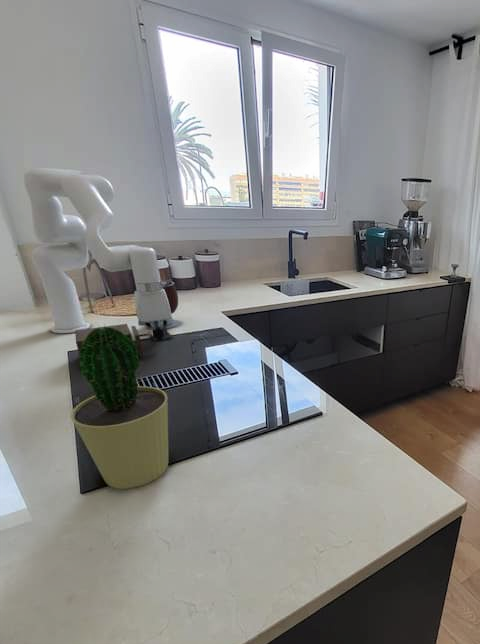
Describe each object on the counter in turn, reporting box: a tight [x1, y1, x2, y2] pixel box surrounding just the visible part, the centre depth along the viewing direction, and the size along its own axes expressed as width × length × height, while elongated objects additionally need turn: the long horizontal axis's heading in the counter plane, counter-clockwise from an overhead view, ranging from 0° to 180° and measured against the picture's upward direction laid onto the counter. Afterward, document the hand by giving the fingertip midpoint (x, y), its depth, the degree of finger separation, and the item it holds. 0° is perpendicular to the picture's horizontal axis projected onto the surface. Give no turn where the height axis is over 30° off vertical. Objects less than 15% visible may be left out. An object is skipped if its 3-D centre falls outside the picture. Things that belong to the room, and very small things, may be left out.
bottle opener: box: [152, 321, 173, 342], centre depth 145 cm, size 5×6×14 cm
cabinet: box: [74, 323, 133, 356], centre depth 127 cm, size 15×13×9 cm
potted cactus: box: [70, 324, 170, 490], centre depth 72 cm, size 15×15×30 cm
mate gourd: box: [147, 278, 181, 330], centre depth 158 cm, size 16×14×20 cm
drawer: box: [130, 325, 155, 357], centre depth 129 cm, size 18×11×7 cm, turn 124°
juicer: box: [82, 249, 115, 313], centre depth 177 cm, size 10×11×30 cm
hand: (159, 339), depth 136 cm, fingers closed
